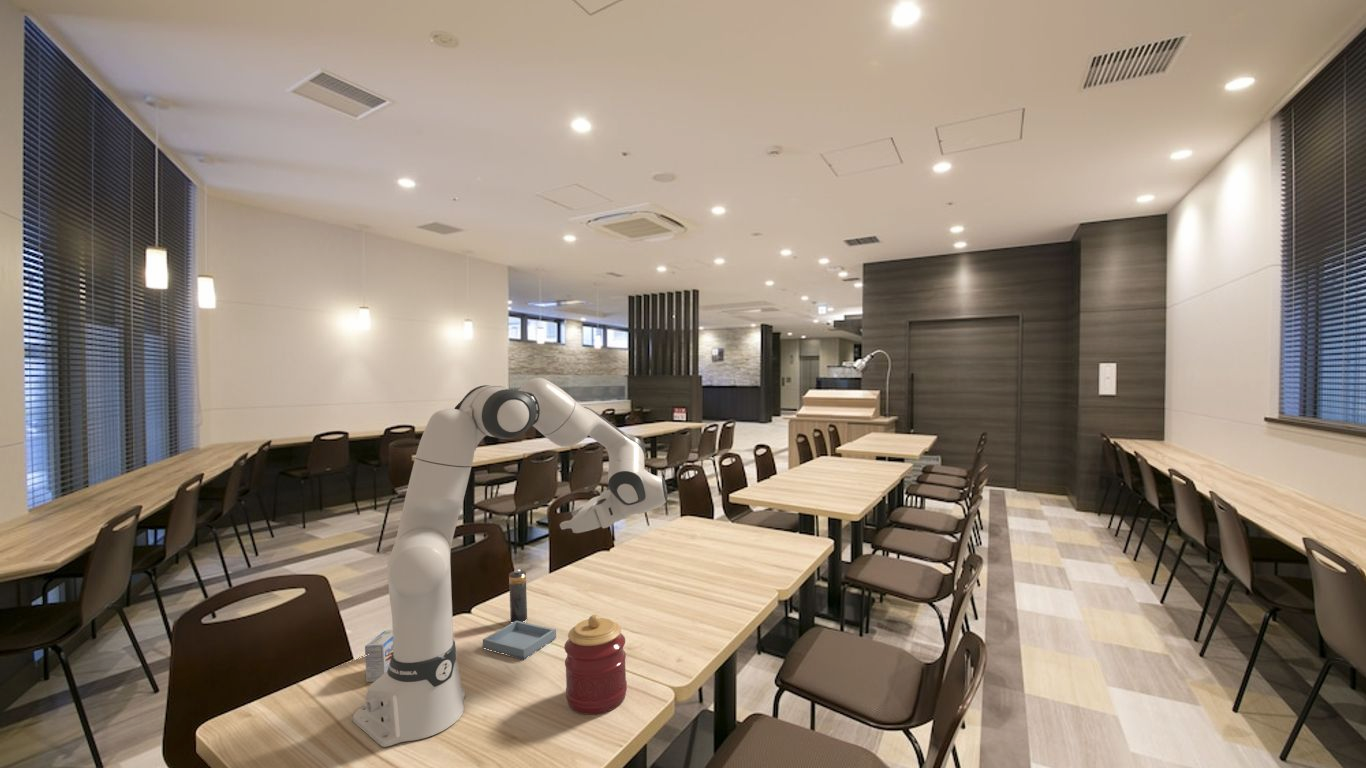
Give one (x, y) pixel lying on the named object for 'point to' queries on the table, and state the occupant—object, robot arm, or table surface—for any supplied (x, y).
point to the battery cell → (518, 595)
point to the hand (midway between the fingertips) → (567, 520)
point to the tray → (519, 639)
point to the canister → (595, 666)
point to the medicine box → (378, 655)
